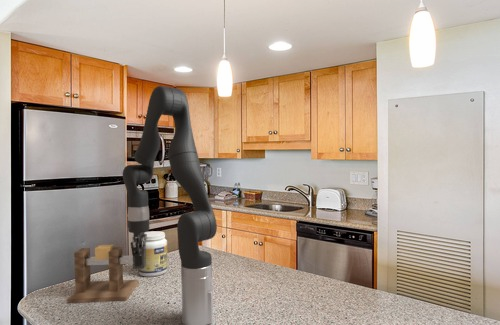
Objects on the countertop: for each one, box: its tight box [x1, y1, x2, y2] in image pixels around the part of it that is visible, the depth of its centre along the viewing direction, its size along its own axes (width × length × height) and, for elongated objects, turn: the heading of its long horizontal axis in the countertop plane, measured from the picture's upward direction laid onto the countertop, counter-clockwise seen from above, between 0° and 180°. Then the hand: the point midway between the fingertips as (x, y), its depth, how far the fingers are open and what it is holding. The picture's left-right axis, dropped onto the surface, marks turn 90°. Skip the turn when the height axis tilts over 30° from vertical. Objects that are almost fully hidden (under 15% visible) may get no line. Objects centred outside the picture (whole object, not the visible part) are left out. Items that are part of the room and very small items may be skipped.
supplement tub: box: [137, 230, 169, 278], centre depth 144 cm, size 12×12×17 cm
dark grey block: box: [85, 245, 146, 270], centre depth 124 cm, size 24×3×8 cm, turn 94°
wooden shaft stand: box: [66, 246, 140, 304], centre depth 123 cm, size 20×16×16 cm
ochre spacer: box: [94, 244, 115, 260], centre depth 123 cm, size 5×5×4 cm
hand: (139, 264), depth 124 cm, fingers closed on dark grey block, 3 cm apart
